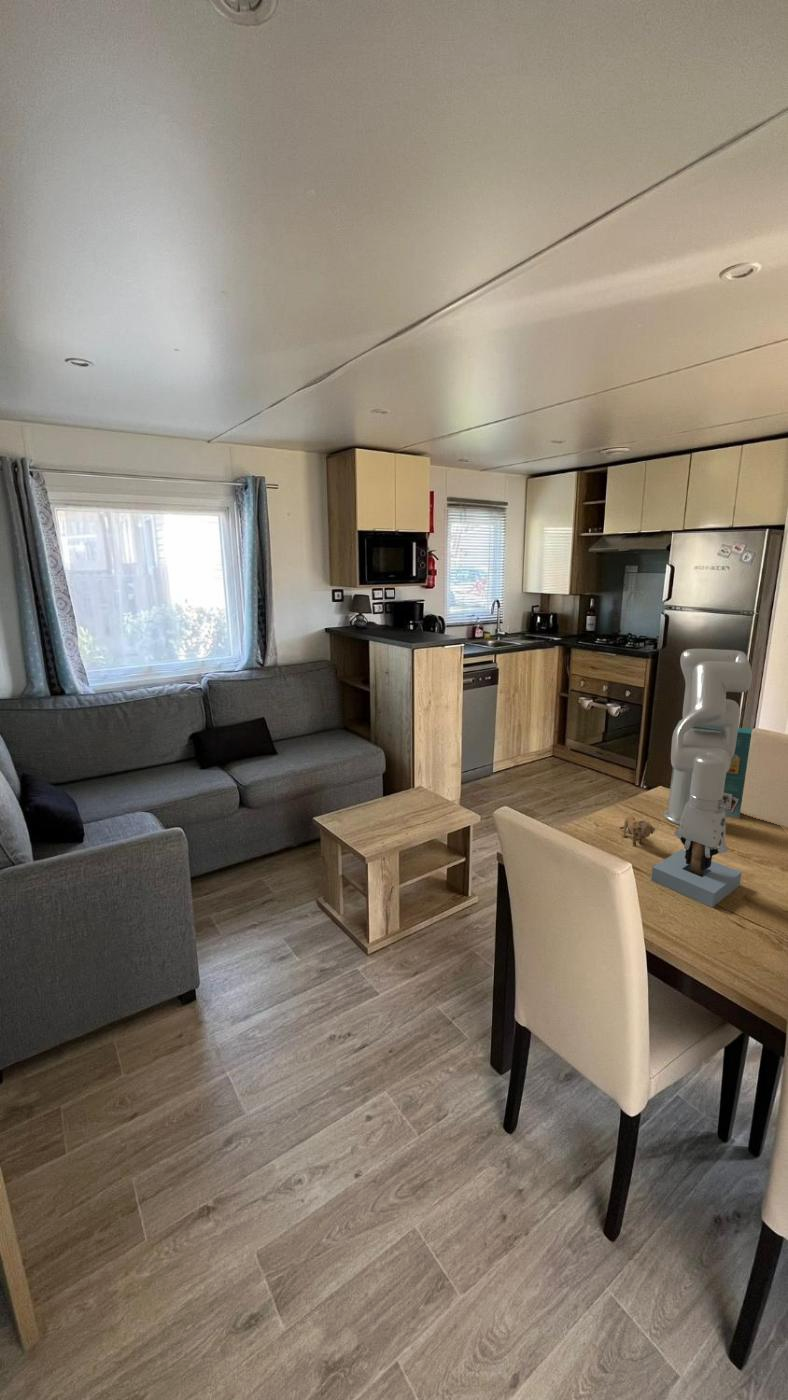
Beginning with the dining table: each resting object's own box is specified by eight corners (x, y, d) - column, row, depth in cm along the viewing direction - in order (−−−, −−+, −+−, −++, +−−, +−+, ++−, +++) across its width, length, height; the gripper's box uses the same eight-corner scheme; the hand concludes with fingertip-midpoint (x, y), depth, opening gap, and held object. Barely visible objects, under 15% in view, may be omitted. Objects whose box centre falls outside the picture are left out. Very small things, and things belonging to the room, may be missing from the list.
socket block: (680, 861, 163) (681, 849, 162) (739, 885, 151) (741, 872, 150) (651, 880, 154) (652, 867, 153) (712, 907, 142) (714, 893, 141)
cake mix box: (740, 812, 195) (752, 729, 188) (739, 818, 190) (751, 733, 183) (670, 798, 207) (679, 720, 200) (668, 804, 202) (677, 724, 195)
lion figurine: (655, 850, 170) (658, 823, 168) (640, 852, 169) (642, 825, 167) (626, 828, 184) (629, 803, 182) (611, 830, 183) (614, 805, 181)
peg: (692, 872, 154) (697, 832, 152) (705, 878, 152) (710, 837, 149) (686, 876, 152) (691, 836, 150) (699, 882, 150) (704, 841, 147)
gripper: (745, 808, 143) (736, 873, 147) (680, 789, 156) (673, 849, 160) (732, 816, 138) (723, 883, 143) (667, 795, 151) (660, 857, 155)
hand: (697, 864), depth 151 cm, fingers closed on peg, 3 cm apart
